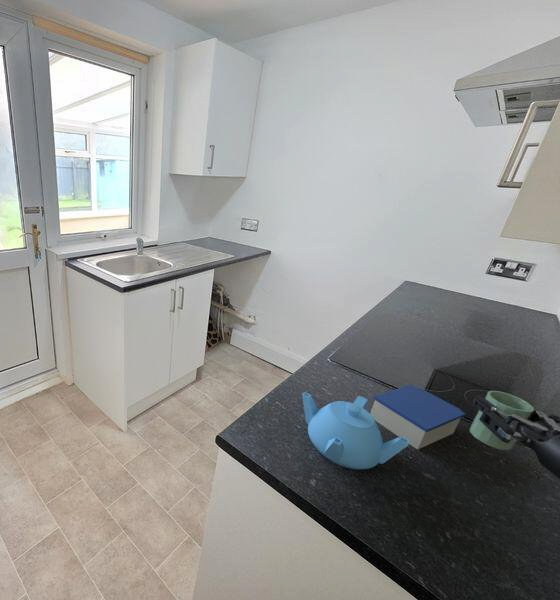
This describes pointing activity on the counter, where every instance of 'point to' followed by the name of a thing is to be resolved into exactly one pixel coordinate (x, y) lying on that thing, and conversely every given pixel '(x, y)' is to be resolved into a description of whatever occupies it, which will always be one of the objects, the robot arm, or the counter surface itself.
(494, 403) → the utensil cup
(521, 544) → the counter surface
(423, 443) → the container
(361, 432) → the teapot
